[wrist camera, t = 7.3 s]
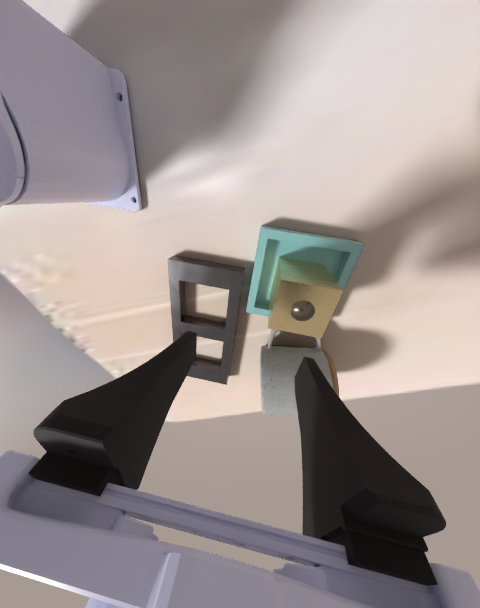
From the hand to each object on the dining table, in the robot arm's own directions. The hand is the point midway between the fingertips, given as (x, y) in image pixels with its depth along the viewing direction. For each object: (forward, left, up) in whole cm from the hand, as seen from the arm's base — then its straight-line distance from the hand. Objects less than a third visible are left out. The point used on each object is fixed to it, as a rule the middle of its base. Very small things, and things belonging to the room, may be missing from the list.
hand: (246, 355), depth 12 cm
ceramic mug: (+8, +6, -11) cm, 14 cm away
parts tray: (-2, +4, -10) cm, 11 cm away
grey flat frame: (+7, -6, -10) cm, 14 cm away
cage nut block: (-2, +4, -10) cm, 11 cm away
